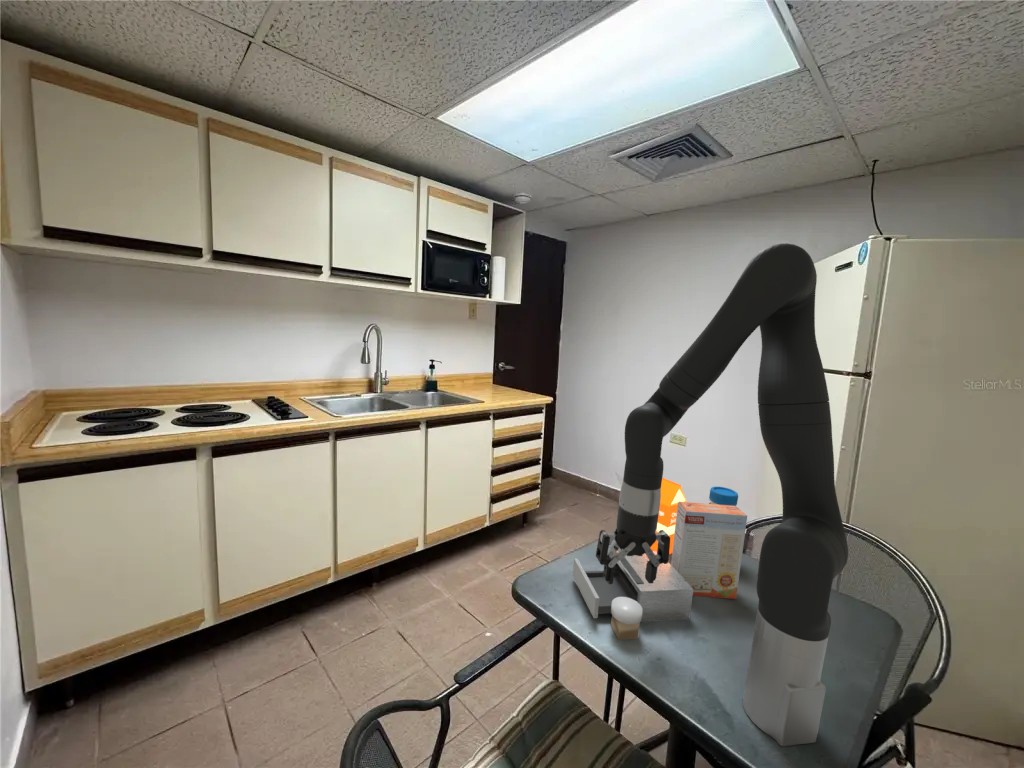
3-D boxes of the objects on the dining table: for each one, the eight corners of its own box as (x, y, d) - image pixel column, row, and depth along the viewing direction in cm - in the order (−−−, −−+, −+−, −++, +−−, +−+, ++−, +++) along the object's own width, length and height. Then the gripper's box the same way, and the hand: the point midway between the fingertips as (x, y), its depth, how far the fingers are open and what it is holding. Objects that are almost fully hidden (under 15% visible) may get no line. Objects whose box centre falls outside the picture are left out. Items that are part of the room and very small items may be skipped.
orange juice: (663, 556, 113) (672, 487, 110) (637, 541, 120) (645, 476, 117) (680, 549, 117) (689, 482, 114) (655, 535, 124) (662, 472, 122)
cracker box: (724, 584, 102) (736, 504, 99) (736, 600, 96) (749, 515, 93) (667, 579, 102) (677, 499, 100) (675, 595, 96) (686, 510, 94)
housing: (689, 619, 88) (693, 588, 87) (637, 621, 86) (640, 590, 85) (654, 577, 103) (658, 550, 102) (609, 578, 101) (612, 551, 100)
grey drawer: (646, 615, 87) (648, 596, 86) (593, 618, 85) (595, 598, 84) (618, 574, 101) (619, 557, 100) (572, 575, 99) (574, 558, 99)
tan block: (637, 638, 82) (639, 620, 81) (618, 639, 81) (620, 621, 80) (629, 624, 86) (631, 606, 85) (610, 625, 85) (612, 607, 84)
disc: (647, 623, 80) (648, 616, 80) (618, 625, 79) (618, 617, 79) (633, 603, 86) (634, 596, 86) (606, 604, 85) (607, 597, 85)
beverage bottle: (729, 556, 115) (739, 488, 113) (734, 572, 107) (745, 499, 105) (696, 549, 118) (705, 482, 115) (698, 564, 110) (708, 493, 107)
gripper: (611, 514, 75) (601, 594, 77) (683, 514, 77) (671, 592, 80) (597, 496, 82) (588, 570, 85) (663, 497, 85) (653, 569, 87)
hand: (629, 581), depth 82 cm, fingers open, 8 cm apart
